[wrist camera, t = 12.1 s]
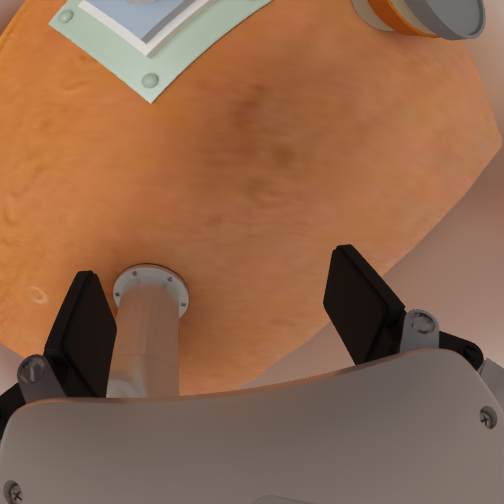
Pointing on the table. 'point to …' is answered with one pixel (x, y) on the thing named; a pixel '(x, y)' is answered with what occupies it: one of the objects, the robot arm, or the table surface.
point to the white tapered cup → (140, 1)
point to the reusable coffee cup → (425, 17)
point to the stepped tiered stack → (149, 35)
